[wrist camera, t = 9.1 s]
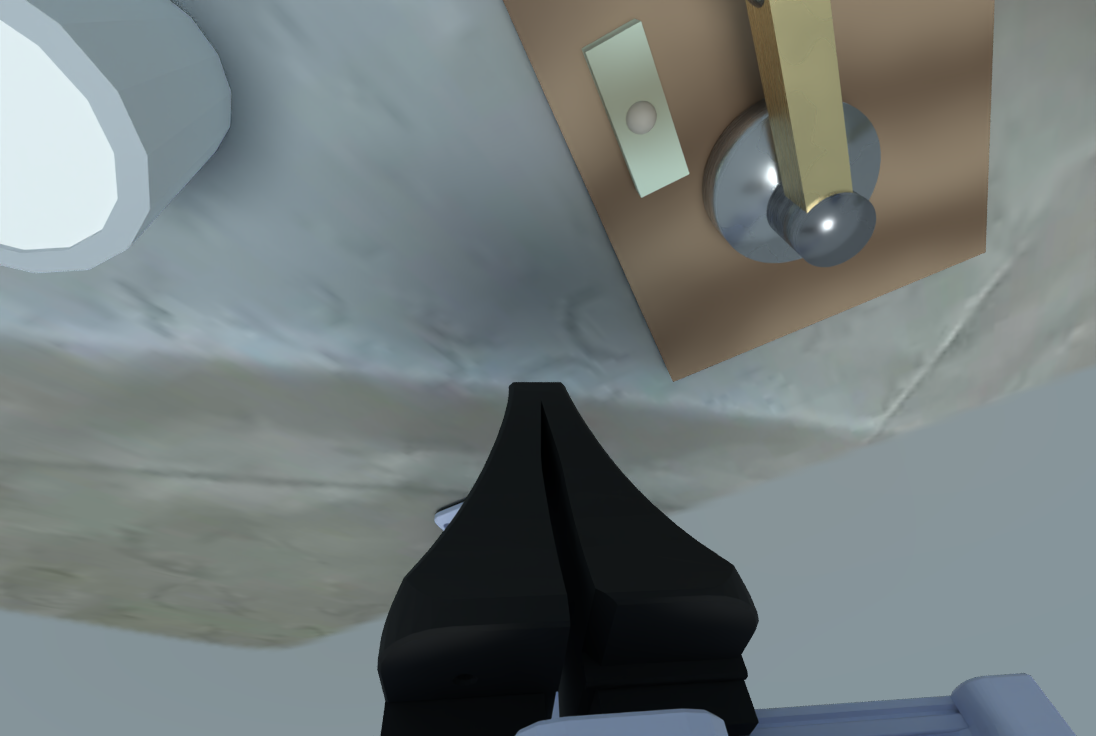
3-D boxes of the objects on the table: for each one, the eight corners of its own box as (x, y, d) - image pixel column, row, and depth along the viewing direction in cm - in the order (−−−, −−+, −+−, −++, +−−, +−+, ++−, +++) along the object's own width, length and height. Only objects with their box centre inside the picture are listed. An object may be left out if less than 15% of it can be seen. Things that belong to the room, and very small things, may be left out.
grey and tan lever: (862, 206, 21) (931, 251, 18) (723, 267, 22) (763, 321, 19) (825, -135, 15) (920, -162, 11) (634, -25, 16) (672, -21, 13)
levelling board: (968, 242, 24) (1011, 267, 22) (667, 369, 26) (681, 401, 24) (976, -365, 13) (1059, -420, 11) (480, -50, 16) (480, -51, 14)
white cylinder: (291, 158, 19) (210, 239, 14) (113, 206, 20) (-36, 304, 14) (166, -90, 15) (-25, -120, 9) (-57, -22, 15) (-364, -11, 10)
